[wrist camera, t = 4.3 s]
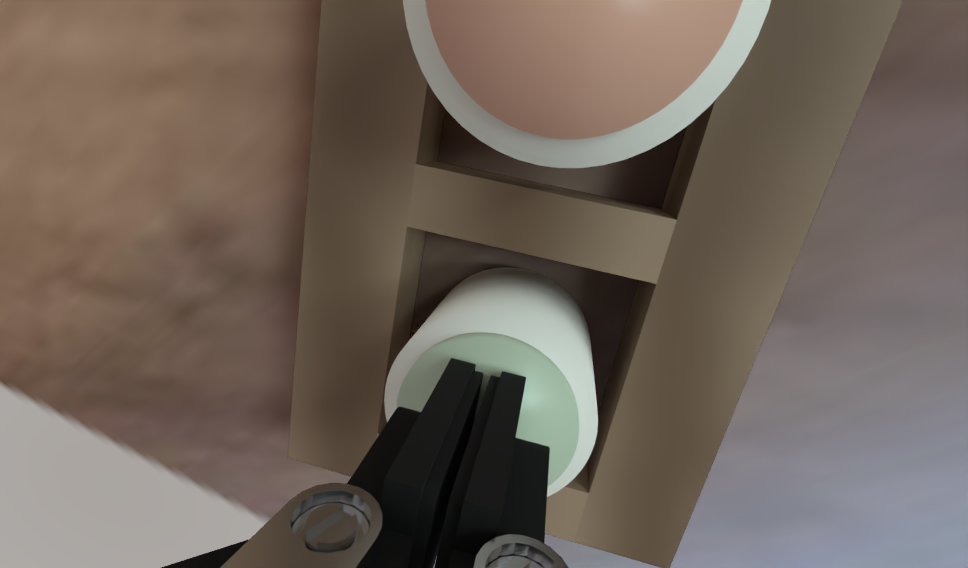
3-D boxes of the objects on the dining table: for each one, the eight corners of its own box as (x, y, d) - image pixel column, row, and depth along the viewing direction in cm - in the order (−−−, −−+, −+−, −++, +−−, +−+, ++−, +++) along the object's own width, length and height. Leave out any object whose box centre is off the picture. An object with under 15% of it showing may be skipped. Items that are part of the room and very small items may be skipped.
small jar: (732, -75, 9) (867, -257, 5) (656, 179, 10) (710, 201, 6) (486, -111, 9) (422, -302, 5) (446, 137, 11) (373, 131, 7)
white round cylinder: (609, 288, 13) (627, 352, 9) (568, 432, 15) (567, 541, 11) (445, 251, 14) (394, 294, 10) (421, 392, 15) (368, 482, 11)
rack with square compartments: (1140, -739, 8) (1327, -1029, 6) (657, 518, 16) (668, 570, 14) (430, -737, 9) (393, -971, 7) (318, 422, 17) (287, 457, 15)
